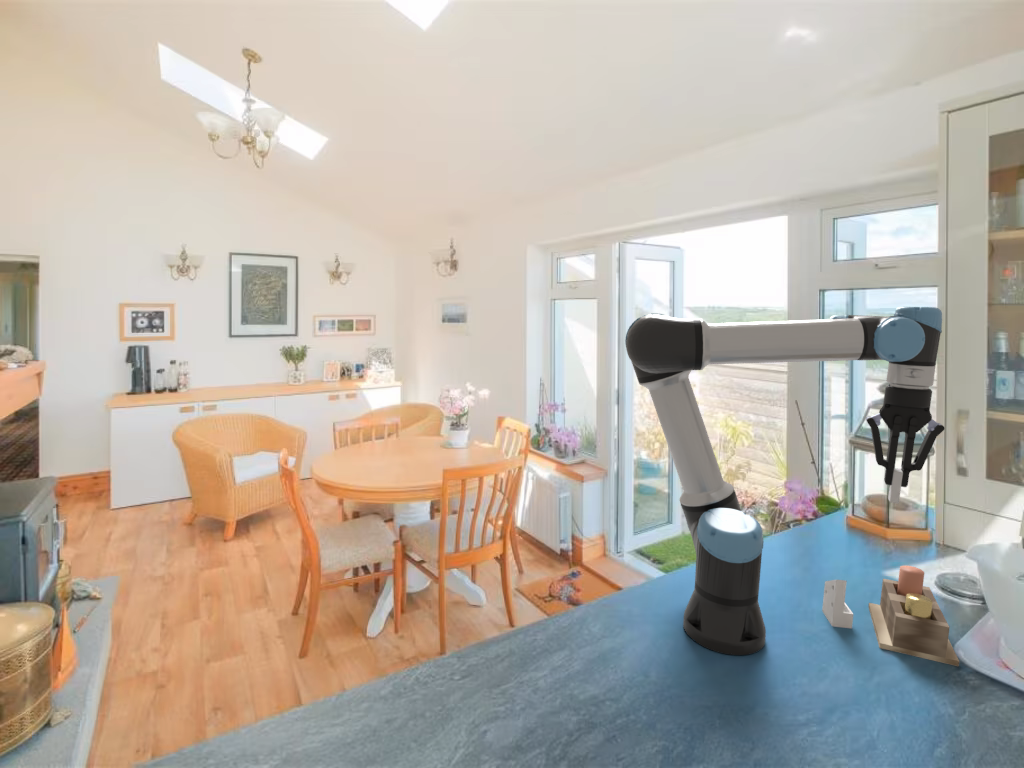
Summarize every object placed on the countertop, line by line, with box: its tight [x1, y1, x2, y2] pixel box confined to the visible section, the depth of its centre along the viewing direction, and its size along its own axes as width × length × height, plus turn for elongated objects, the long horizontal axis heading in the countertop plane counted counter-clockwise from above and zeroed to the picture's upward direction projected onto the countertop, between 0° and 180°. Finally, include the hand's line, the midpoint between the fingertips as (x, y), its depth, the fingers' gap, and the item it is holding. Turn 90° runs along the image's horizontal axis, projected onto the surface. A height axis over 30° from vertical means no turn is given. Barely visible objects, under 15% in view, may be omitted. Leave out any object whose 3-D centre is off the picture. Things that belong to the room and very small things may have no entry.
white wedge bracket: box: [821, 579, 854, 629], centre depth 113 cm, size 4×10×9 cm, turn 169°
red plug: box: [897, 565, 925, 596], centre depth 111 cm, size 4×4×8 cm
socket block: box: [868, 578, 960, 667], centre depth 108 cm, size 12×16×7 cm
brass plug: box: [904, 593, 933, 619], centre depth 105 cm, size 4×4×8 cm
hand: (893, 500), depth 112 cm, fingers closed
